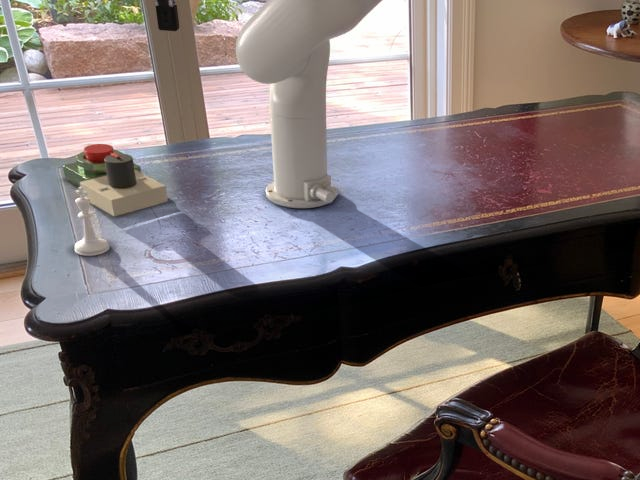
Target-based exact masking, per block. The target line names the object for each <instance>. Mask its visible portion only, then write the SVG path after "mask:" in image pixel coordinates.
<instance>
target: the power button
mask: <svg viewBox="0 0 640 480" xmlns="http://www.w3.org/2000/svg"><path fill="white" fill-rule="evenodd" d="M114 150H115V149H114V146H112V145H111V144H107V143H94V144H89V145H86V146H84V148H83V151H84V153H85V158H86V160H88V161H95V162H97V161H105V160H104V159H105V157H107V156H109V155H111V153H114Z"/></svg>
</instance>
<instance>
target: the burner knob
mask: <svg viewBox="0 0 640 480" xmlns="http://www.w3.org/2000/svg"><path fill="white" fill-rule="evenodd" d="M104 160H105V166H106V171H107V177H108V182H109V185H110V186H111V187H113V188H129V187H132V186H134V185H136V176H135V170H134V164H133V163H134V157H133V156H132V155H130V154H126V153H123V154H115V153H111V155H109V156H107V157H105V159H104Z"/></svg>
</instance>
